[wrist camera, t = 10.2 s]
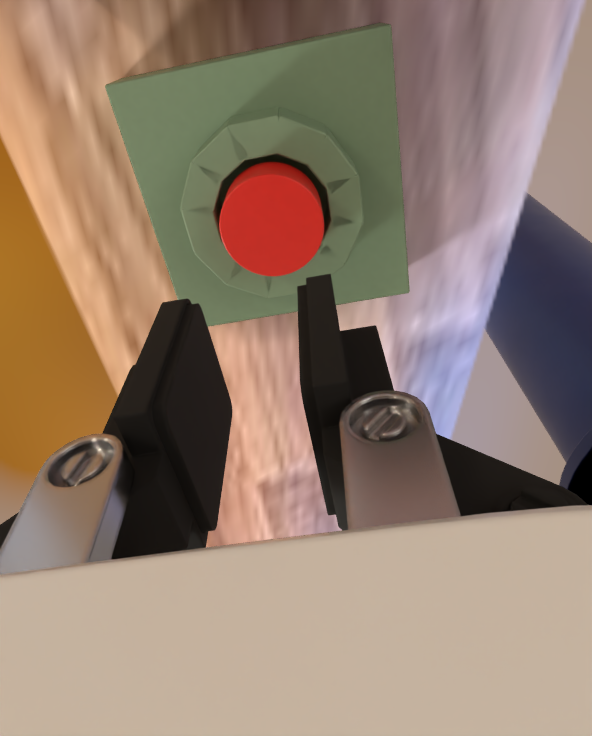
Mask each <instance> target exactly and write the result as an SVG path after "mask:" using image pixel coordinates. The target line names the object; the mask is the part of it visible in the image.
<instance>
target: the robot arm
mask: <svg viewBox="0 0 592 736" xmlns="http://www.w3.org/2000/svg"><path fill="white" fill-rule="evenodd" d="M297 295H298V328H299V361H300V385H301V393H302V399H303V404H304V409H305V413H306V418H307V423H308V427H309V432H310V436H311V441H312V445H313V450H314V454H315V459H316V463H317V468H318V472H319V477H320V481H321V486H322V490H323V495H324V499H325V504H326V508H327V513H328V515H334V514H336V517H337V521H338V526H339V528H341V529H342V531H335V532H327V533H319V534H311V535H303V536H294V537H286V538H278V539H270V540H262V541H254V542H246V543H238V544H230V545H222V546H214V547H207V548H206V542H207V535H208V531H212V530H215V529H216V526H217V521H218V513H219V506H220V499H221V492H222V485H223V477H224V470H225V463H226V456H227V449H228V441H229V434H230V427H231V420H232V404H231V400H230V396H229V393H228V390H227V387H226V384H225V380H224V377H223V374H222V371H221V368H220V365H219V361H218V358H217V355H216V352H215V349H214V346H213V343H212V339H211V336H210V333H209V330H208V327H207V324H206V321H205V317H204V314H203V311H202V308H201V306H200V304H199V303H196V304H192V303H191V301H190V300H189V299H181V300H175V301H169V302H163V303H162V304H161V307H160V309H159V311H158V314H157V316H156V318H155V321H154V323H153V325H152V328H151V330H150V332H149V335H148V337H147V339H146V342H145V344H144V347H143V349H142V351H141V354H140V356H139V358H138V361H137V363H136V365H133V366H132V368H131V369H130V371H129V374H128V376H127V378H126V381H125V383H124V385H123V387H122V390H121V392H120V394H119V397H118V399H117V401H116V403H115V406H114V408H113V410H112V413H111V415H110V417H109V419H108V422H107V424H106V426H105V429H104V431H103V433H102V434H92V435H88V436H84V437H81V438H78V439H76V440H74V441H72V442H70V443H68V444H66V445H64V446H63V447H62V448H60V449H59V450H57V451H56V452H55V453H54V454H53V455H52V456H50V457H49V458H48V459H47V461H46V462H45V463H44V465H43V466H42V468H41V469H40V471H39V474H38V476H37V477H36V479H35V481H34V483H33V485H32V487H31V489H30V491H29V493H28V495H27V497H26V499H25V501H24V503H23V505H22V507H21V509H20V511H19V512H18V513H17V514H15V515H14V516H13V517H11V518H10V519H8V520H7V521H5V522H4V523H2V524H1V525H0V736H592V505H587V504H586V503H585V502H584V501H583V500H582V499H581V498H580V497H579V496H578V495H576V494H574V493H572V492H571V491H569V490H567V489H565V488H563V487H561V486H559V485H556V484H554V483H552V482H550V481H547V480H545V479H542V478H540V477H537V476H535V475H533V474H530V473H528V472H526V471H523V470H521V469H519V468H516V467H514V466H511V465H509V464H507V463H504V462H502V461H499V460H497V459H495V458H492V457H490V456H487V455H485V454H483V453H481V452H478V451H476V450H473V449H471V448H469V447H466V446H464V445H462V444H459V443H457V442H454V441H452V440H450V439H447V438H445V437H443V436H440V435H438V434H436V433H435V429H434V426H433V423H432V419H431V416H430V413H429V411H428V409H427V407H426V405H425V404H424V403H423V402H422V401H421V400H419V399H418V398H417V397H415V396H412V395H410V394H408V393H405V392H399V391H394V389H393V385H392V381H391V378H390V374H389V371H388V367H387V363H386V360H385V356H384V352H383V349H382V345H381V341H380V338H379V334H378V331H377V327H376V326H369V327H363V328H356V329H350V330H344V331H340V329H339V323H338V316H337V310H336V304H335V297H334V291H333V285H332V278H331V274H325V275H319V276H314V277H308V278H306V285H301V286H297Z"/></svg>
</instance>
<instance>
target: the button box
mask: <svg viewBox="0 0 592 736" xmlns="http://www.w3.org/2000/svg"><path fill="white" fill-rule="evenodd" d="M105 88H106V91H107V94H108V97H109V100H110V103H111V106H112V108H113V111H114V114H115V117H116V120H117V123H118V126H119V129H120V132H121V135H122V138H123V141H124V144H125V146H126V149H127V152H128V155H129V158H130V161H131V164H132V167H133V170H134V173H135V176H136V179H137V181H138V184H139V187H140V190H141V193H142V196H143V199H144V202H145V205H146V208H147V211H148V214H149V217H150V219H151V222H152V225H153V228H154V231H155V234H156V237H157V240H158V243H159V246H160V249H161V252H162V255H163V257H164V260H165V263H166V266H167V269H168V272H169V275H170V278H171V281H172V284H173V287H174V290H175V293H176V295H177V298H178V300H181V299H189V300H190V301H191V303H192V304H196V303H199V304H200V306H201V308H202V311H203V314H204V317H205V321H206V324H207V327H208V326H214V325H220V324H225V323H231V322H237V321H243V320H249V319H255V318H261V317H267V316H273V315H279V314H285V313H291V312H297V311H298V295H297V286H301V285H306V278H308V277H314V276H319V275H325V274H331V278H332V285H333V291H334V297H335V304H336V305H339V304H345V303H351V302H357V301H363V300H369V299H375V298H381V297H387V296H393V295H399V294H405V293H409V276H408V262H407V247H406V233H405V218H404V204H403V189H402V175H401V160H400V146H399V131H398V117H397V102H396V87H395V73H394V58H393V44H392V29H391V25H390V24H384V23H377V24H372V25H367V26H363V27H358V28H354V29H349V30H344V31H340V32H335V33H330V34H326V35H321V36H316V37H312V38H307V39H302V40H298V41H293V42H288V43H284V44H279V45H274V46H270V47H265V48H260V49H256V50H251V51H246V52H242V53H237V54H232V55H228V56H223V57H219V58H214V59H209V60H205V61H200V62H195V63H191V64H186V65H181V66H177V67H172V68H167V69H163V70H158V71H153V72H149V73H144V74H139V75H135V76H130V77H125V78H121V79H119V80H117V81H114V82H112V83H110V84H107V85H106V86H105ZM263 162H280V163H285V164H288V165H291V166H293V167H295V168H297V169H298V170H300V171H302V172H303V173H304V174H305V175H306V176H307V177H308V178H309V179H310V180H311V181H312V183H313V184H314V186H315V187H316V189H317V191H318V194H319V197H320V200H321V205H322V211H323V217H324V234H323V239H322V242H321V245H320V247H319V249H318V251H317V253H316V254H315V256H314V257H313V258H312V259H311V260H310V261H309V262H308V263H307V264H306V265H305V266H303V267H302V268H301V269H299V270H297V271H295V272H292V273H290V274H286V275H282V276H264V275H259V274H256V273H253V272H251V271H249V270H247V269H245V268H243V267H242V266H241V265H239V264H238V263H237V262H236V261H235V260H234V259H233V258H232V257H231V256H230V255H229V253H228V252H227V250H226V248H225V246H224V244H223V242H222V239H221V235H220V228H219V220H220V213H221V209H222V206H223V203H224V200H225V197H226V194H227V192H228V189H229V187H230V185H231V184H232V182H233V181H234V179H235V178H236V177H237V176H238V175H239V174H240V173H242V172H243V171H244V170H246V169H247V168H249V167H251V166H253V165H256V164H259V163H263Z"/></svg>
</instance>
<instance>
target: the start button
mask: <svg viewBox="0 0 592 736" xmlns="http://www.w3.org/2000/svg"><path fill="white" fill-rule="evenodd" d="M219 228H220V235H221V239H222V242H223V244H224V246H225V248H226V250H227V252H228V253H229V255H230V256H231V257H232V258H233V259H234V260H235V261H236V262H237V263H238V264H239V265H241V266H242V267H243V268H245V269H247V270H249V271H251V272H253V273H256V274H259V275H264V276H282V275H286V274H290V273H292V272H295V271H297V270H299V269H301V268H302V267H303V266H305V265H306V264H307V263H308V262H309V261H310V260H311V259H312V258H313V257H314V256H315V254H316V253H317V251H318V249H319V247H320V245H321V242H322V239H323V234H324V217H323V211H322V205H321V200H320V197H319V194H318V191H317V189H316V187H315V186H314V184H313V183H312V181H311V180H310V179H309V178H308V177H307V176H306V175H305V174H304V173H303V172H302V171H300V170H298V169H297V168H295V167H293V166H291V165H288V164H285V163H280V162H263V163H259V164H256V165H253V166H251V167H249V168H247V169H246V170H244V171H243V172H242V173H240V174H239V175H238V176H237V177H236V178H235V179H234V181H233V182H232V184H231V185H230V187H229V189H228V192H227V194H226V197H225V200H224V203H223V206H222V209H221V213H220V220H219Z"/></svg>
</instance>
